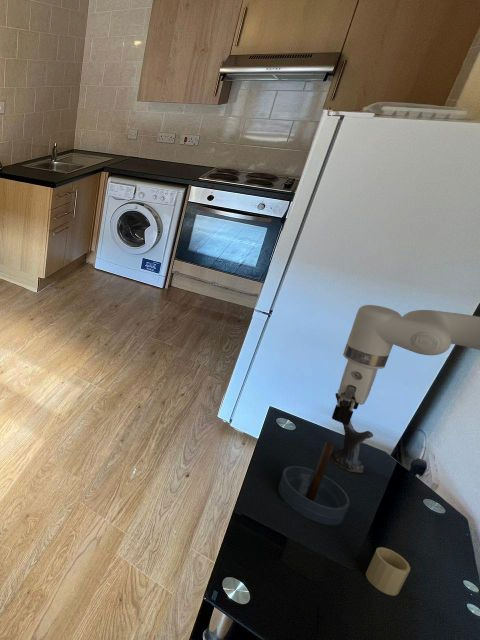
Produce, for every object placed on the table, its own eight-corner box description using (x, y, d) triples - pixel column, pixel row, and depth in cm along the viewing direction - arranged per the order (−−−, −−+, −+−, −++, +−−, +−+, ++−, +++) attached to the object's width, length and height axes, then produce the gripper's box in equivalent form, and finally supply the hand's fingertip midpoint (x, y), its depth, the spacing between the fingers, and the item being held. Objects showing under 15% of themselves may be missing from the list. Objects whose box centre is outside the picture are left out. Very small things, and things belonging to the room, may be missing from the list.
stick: (310, 498, 113) (331, 441, 107) (314, 504, 112) (336, 446, 106) (303, 497, 113) (324, 440, 107) (307, 503, 112) (329, 445, 106)
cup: (383, 573, 95) (395, 548, 92) (404, 599, 90) (417, 573, 87) (358, 570, 95) (369, 545, 93) (377, 595, 90) (390, 569, 88)
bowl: (318, 484, 119) (324, 468, 117) (357, 530, 105) (364, 512, 103) (267, 479, 120) (272, 463, 118) (298, 523, 107) (304, 505, 105)
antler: (364, 466, 126) (392, 398, 118) (361, 479, 121) (389, 410, 113) (317, 444, 134) (340, 380, 127) (312, 456, 129) (336, 390, 122)
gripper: (380, 374, 90) (356, 436, 95) (392, 350, 100) (370, 408, 106) (336, 359, 96) (316, 419, 101) (352, 338, 106) (333, 394, 111)
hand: (344, 413), depth 103 cm, fingers open, 9 cm apart
